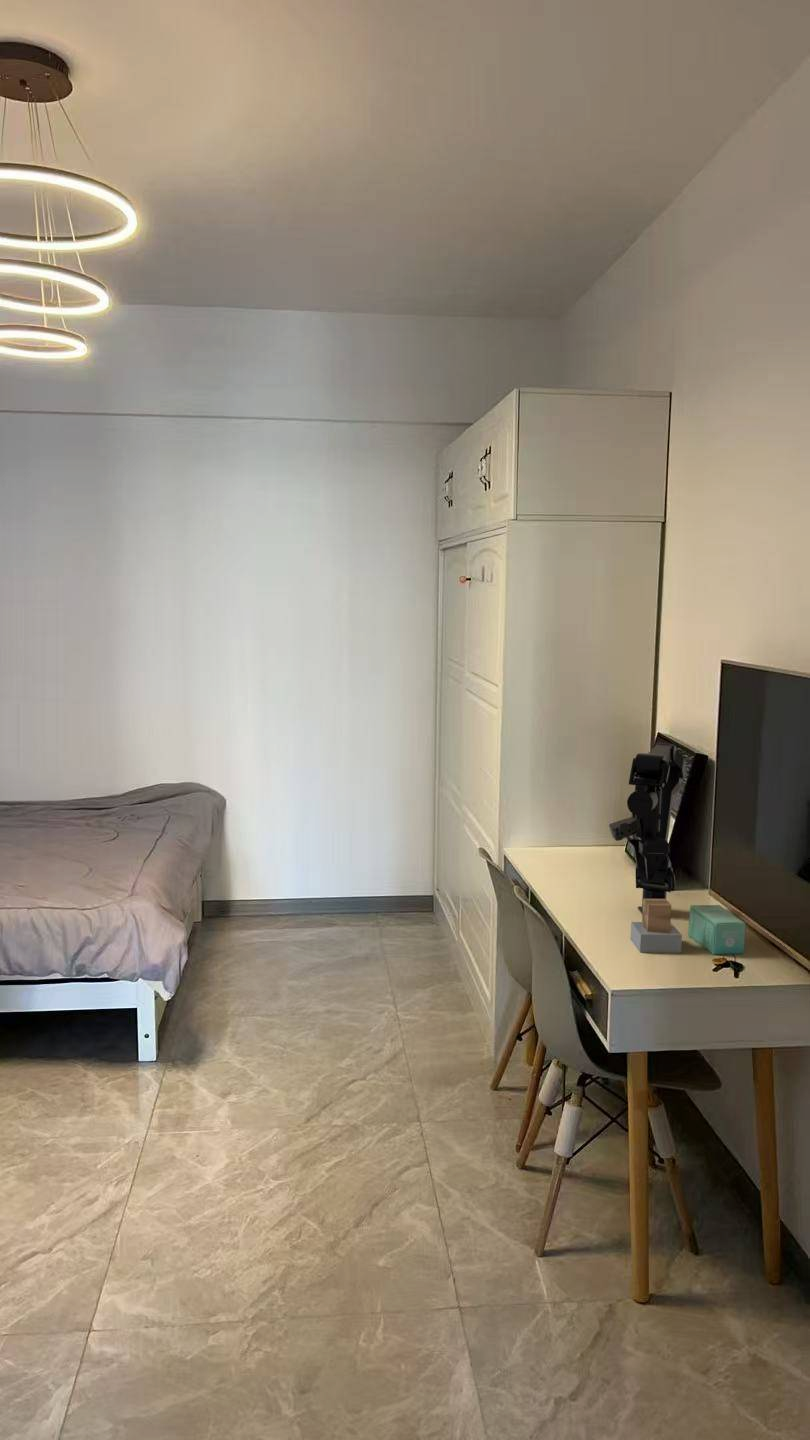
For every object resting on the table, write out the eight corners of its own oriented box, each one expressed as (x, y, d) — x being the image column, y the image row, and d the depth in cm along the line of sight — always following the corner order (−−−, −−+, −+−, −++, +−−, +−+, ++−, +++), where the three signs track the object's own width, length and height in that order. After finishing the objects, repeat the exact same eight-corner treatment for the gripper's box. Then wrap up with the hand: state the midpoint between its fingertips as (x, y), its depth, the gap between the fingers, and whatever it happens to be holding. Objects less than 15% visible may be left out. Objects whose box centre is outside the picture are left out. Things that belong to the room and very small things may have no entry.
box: (713, 955, 235) (715, 922, 234) (687, 936, 248) (689, 904, 247) (744, 955, 236) (747, 921, 235) (717, 935, 249) (719, 904, 248)
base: (630, 939, 245) (631, 921, 244) (669, 939, 245) (670, 922, 244) (640, 952, 236) (640, 934, 235) (681, 952, 236) (681, 935, 235)
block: (641, 924, 242) (643, 898, 242) (664, 925, 242) (665, 898, 242) (647, 931, 237) (648, 905, 237) (670, 932, 237) (671, 905, 237)
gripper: (604, 799, 258) (601, 864, 260) (622, 816, 239) (619, 885, 241) (651, 800, 258) (648, 864, 260) (672, 817, 240) (668, 885, 241)
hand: (644, 874), depth 251 cm, fingers open, 9 cm apart
